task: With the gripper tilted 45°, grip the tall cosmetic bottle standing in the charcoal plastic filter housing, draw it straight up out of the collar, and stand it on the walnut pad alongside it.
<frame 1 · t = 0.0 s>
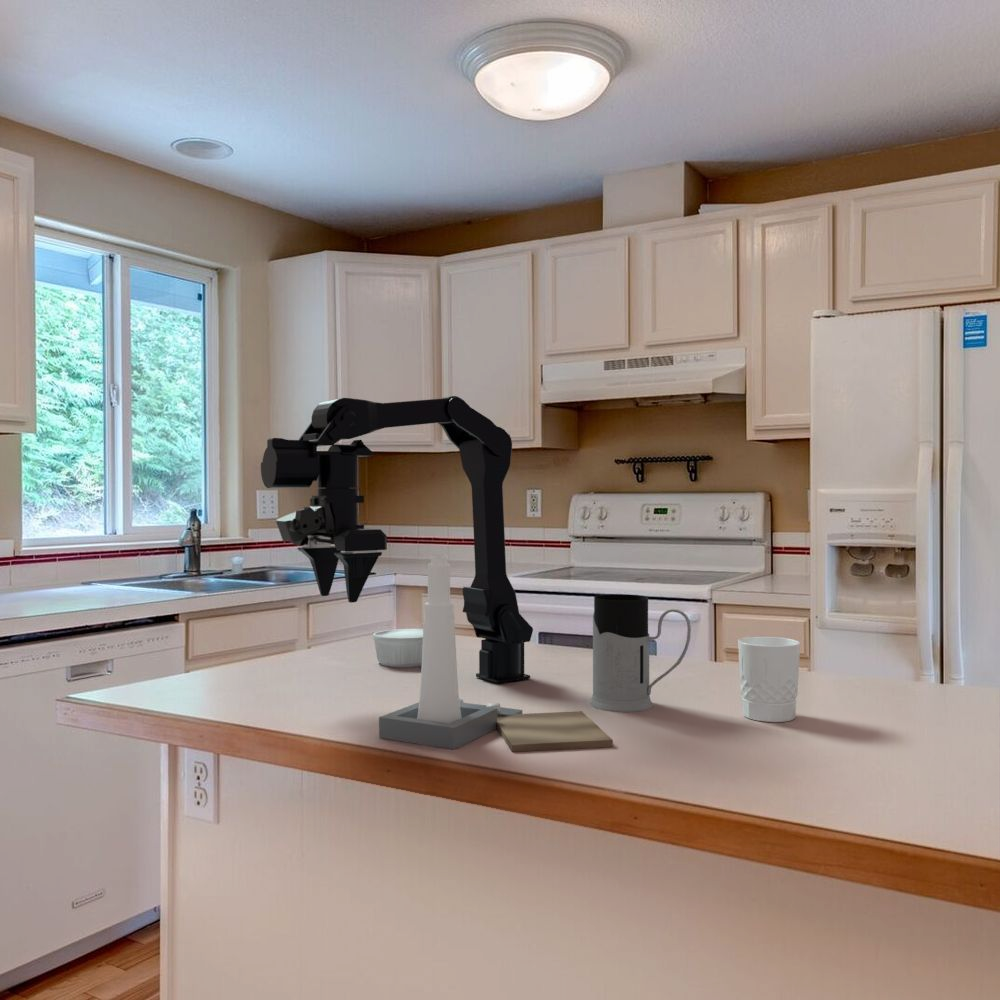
hand: (338, 598, 130), 15 cm above the countertop, tool pointing down, fingers open, 9 cm apart
ramekin: (405, 664, 160), on the countertop
glass holder: (639, 707, 128), on the countertop
white cup: (768, 717, 122), on the countertop
cosmetic bottle: (439, 734, 114), resting in filter housing
filter housing: (439, 732, 114), on the countertop
walnut pad: (549, 733, 114), on the countertop
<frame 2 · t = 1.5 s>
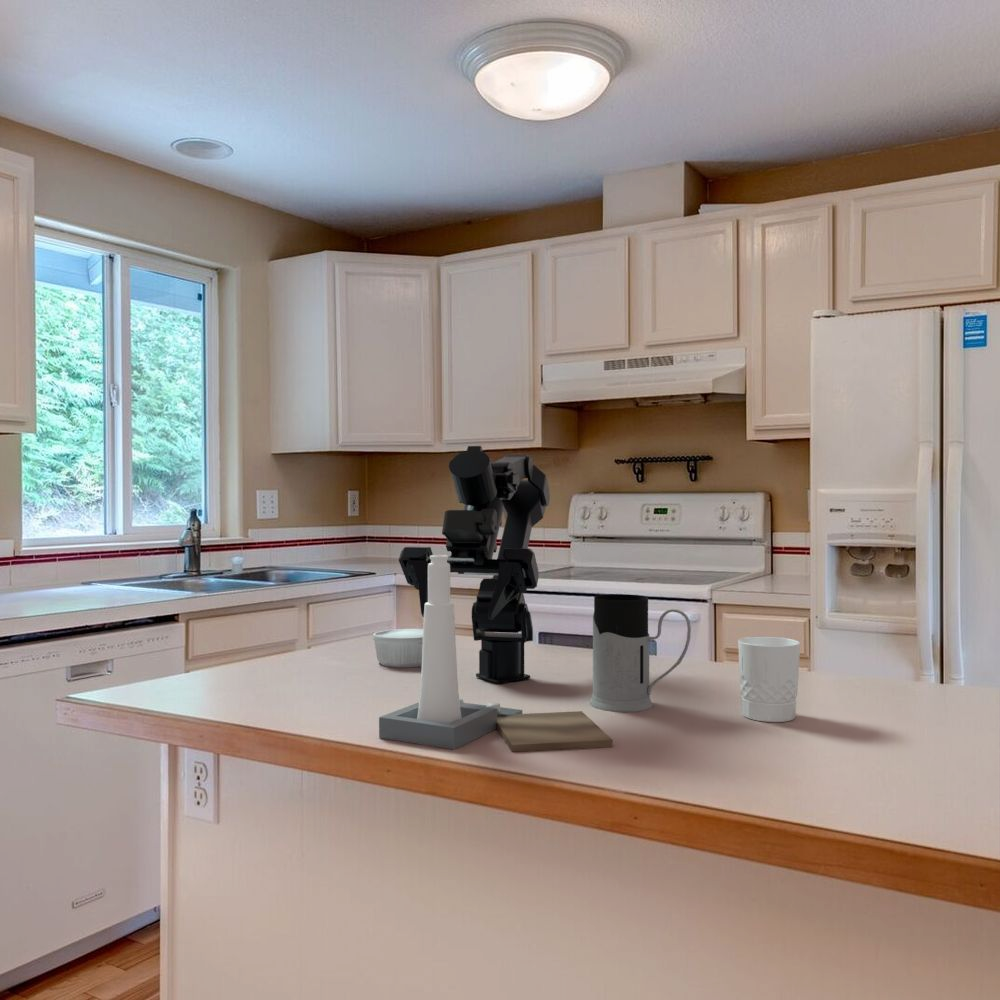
hand: (456, 616, 121), 13 cm above the countertop, tool tilted 45°, fingers open, 9 cm apart
nothing on the countertop moved.
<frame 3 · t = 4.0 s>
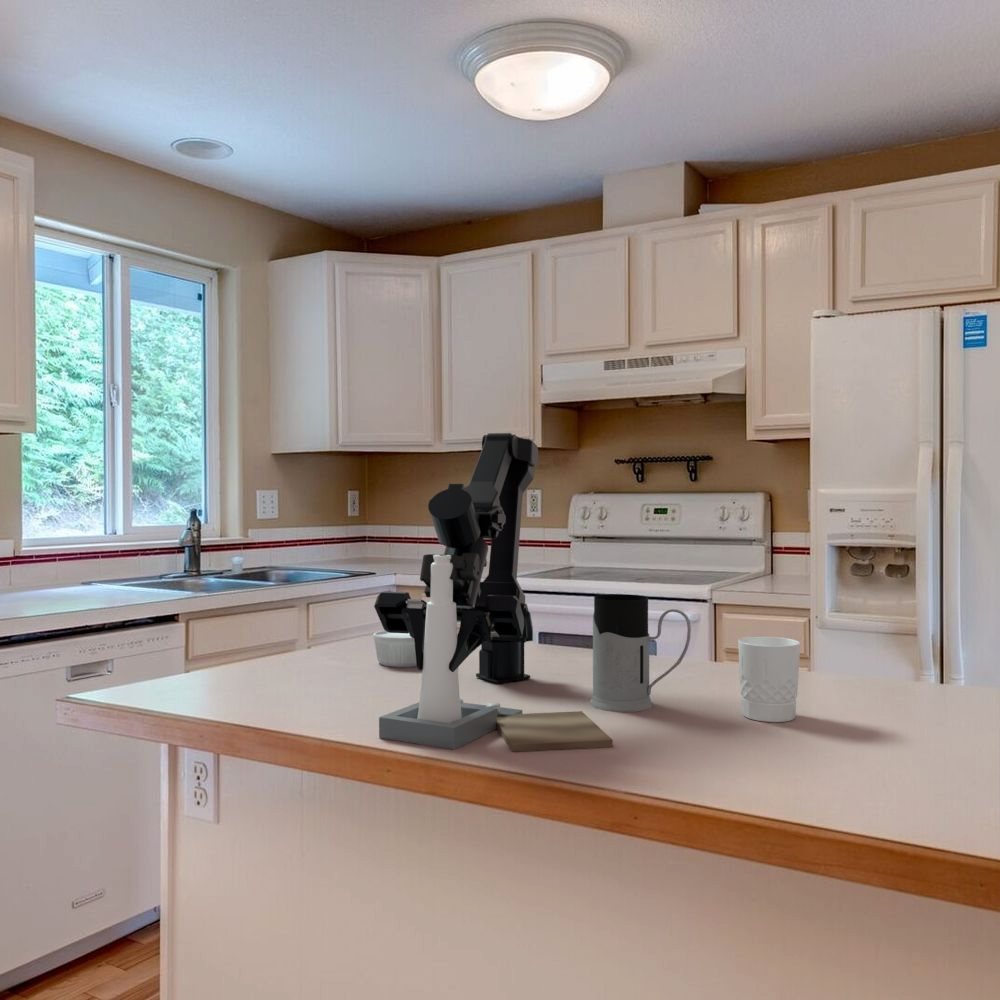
hand: (434, 669, 113), 8 cm above the countertop, tool tilted 45°, fingers closed on cosmetic bottle, 4 cm apart
cosmetic bottle: (439, 734, 114), resting in filter housing, touching gripper
everything else where it was.
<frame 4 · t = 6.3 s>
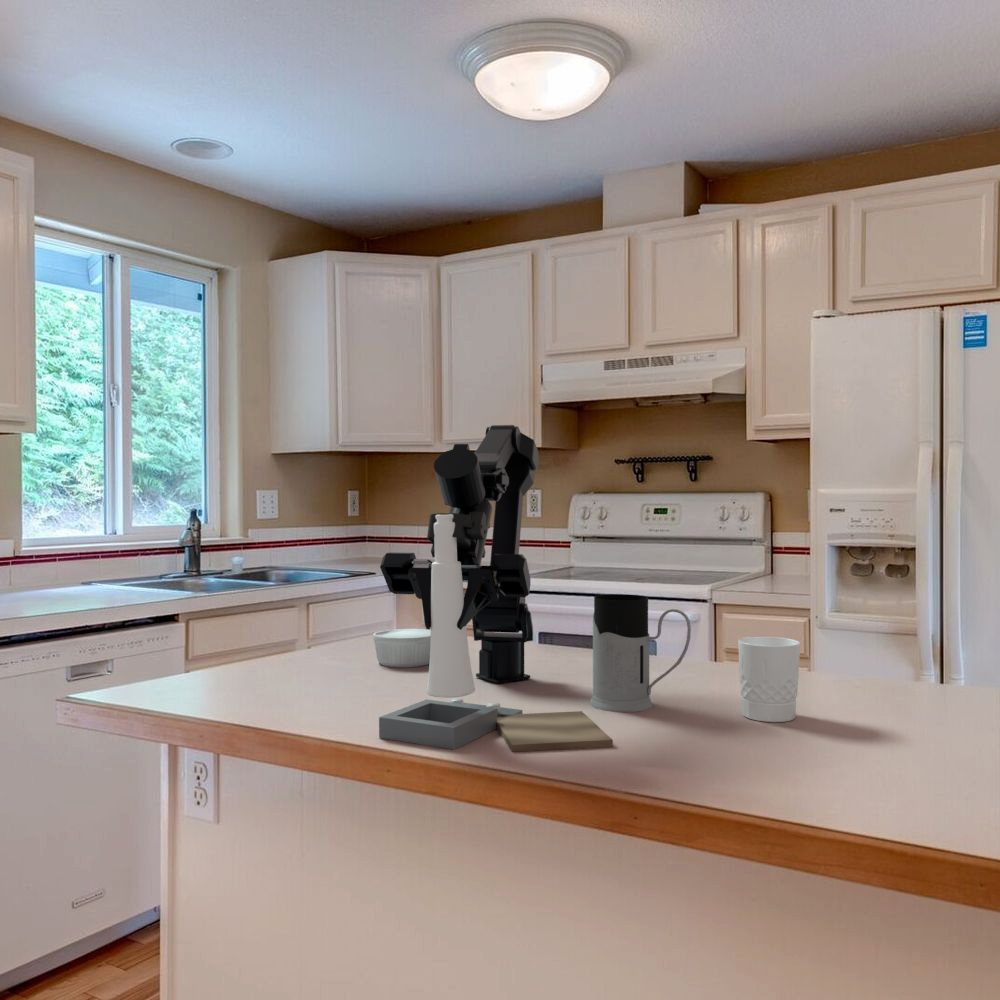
hand: (443, 627, 112), 13 cm above the countertop, tool tilted 45°, fingers closed on cosmetic bottle, 4 cm apart
cosmetic bottle: (450, 693, 114), point 5 cm above the countertop, touching gripper
everything else where it was.
when the fingers open (10 cm above the countertop, at t = 8.6 s): cosmetic bottle drops 1 cm, resting on walnut pad.
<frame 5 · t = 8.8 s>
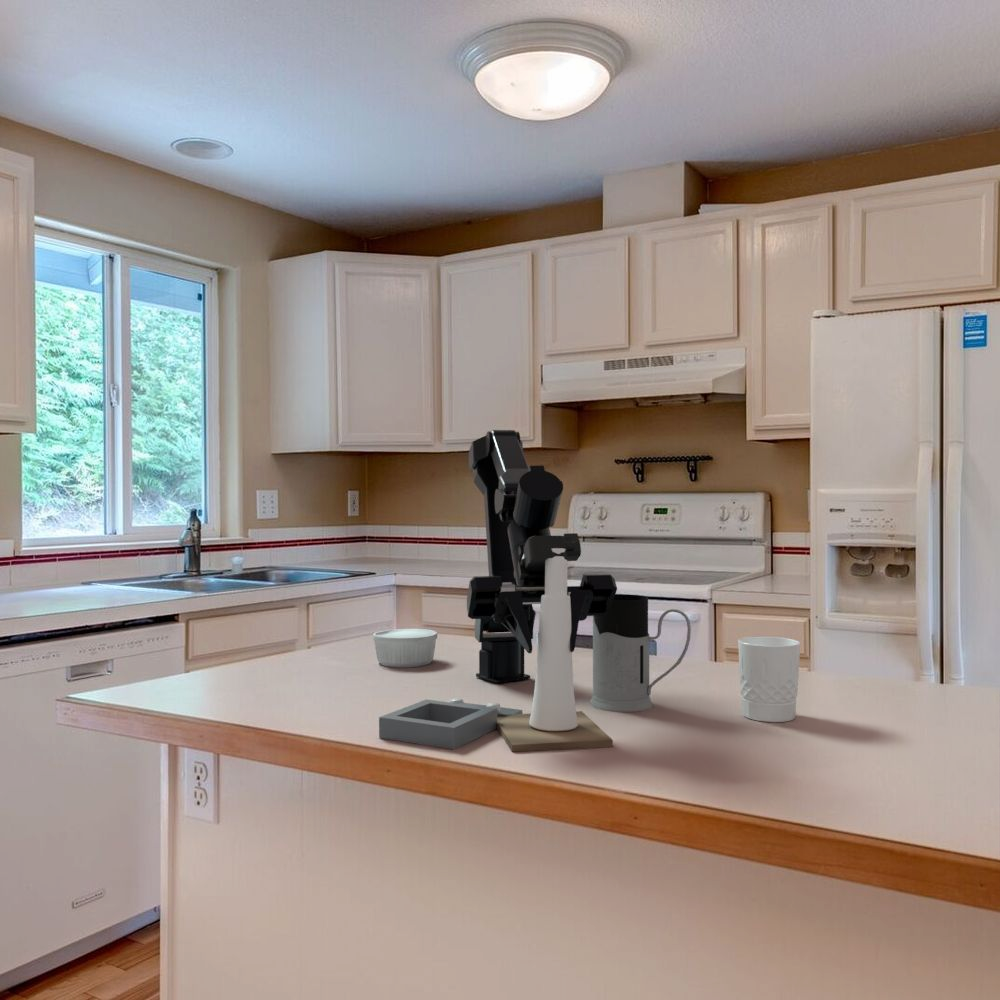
hand: (551, 650, 112), 10 cm above the countertop, tool tilted 45°, fingers open, 5 cm apart
cosmetic bottle: (553, 727, 114), point 1 cm above the countertop, touching gripper, walnut pad
everything else where it was.
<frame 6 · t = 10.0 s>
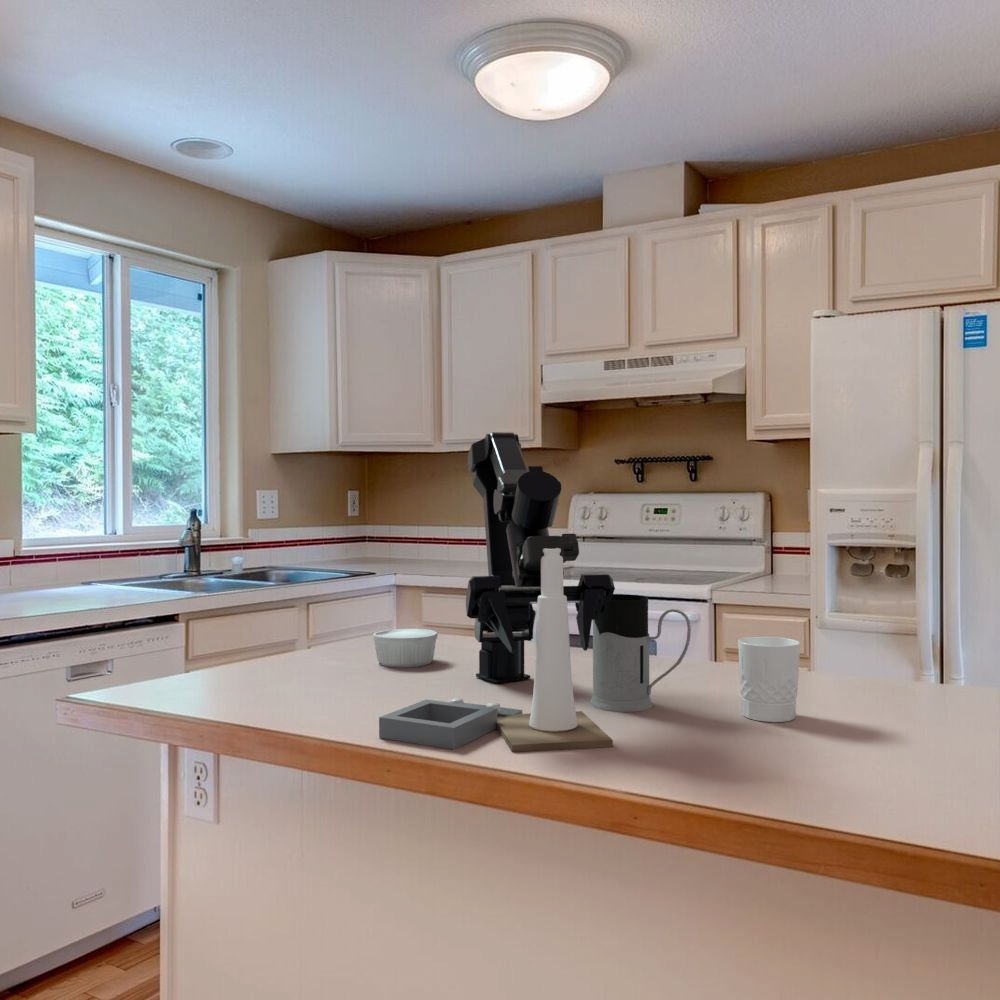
hand: (549, 649, 113), 10 cm above the countertop, tool tilted 45°, fingers open, 9 cm apart
cosmetic bottle: (553, 727, 114), point 1 cm above the countertop, touching walnut pad
everything else where it was.
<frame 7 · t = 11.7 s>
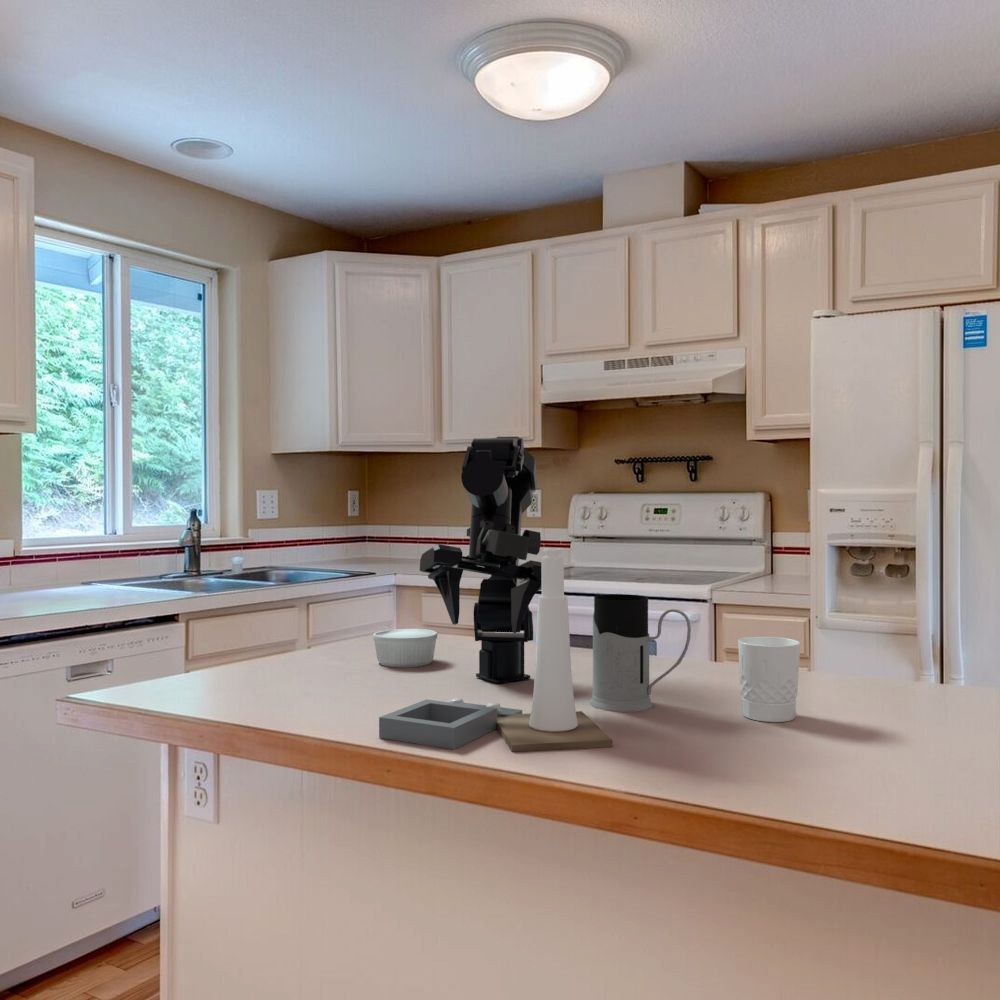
hand: (485, 628, 126), 11 cm above the countertop, tool tilted 20°, fingers open, 9 cm apart
nothing on the countertop moved.
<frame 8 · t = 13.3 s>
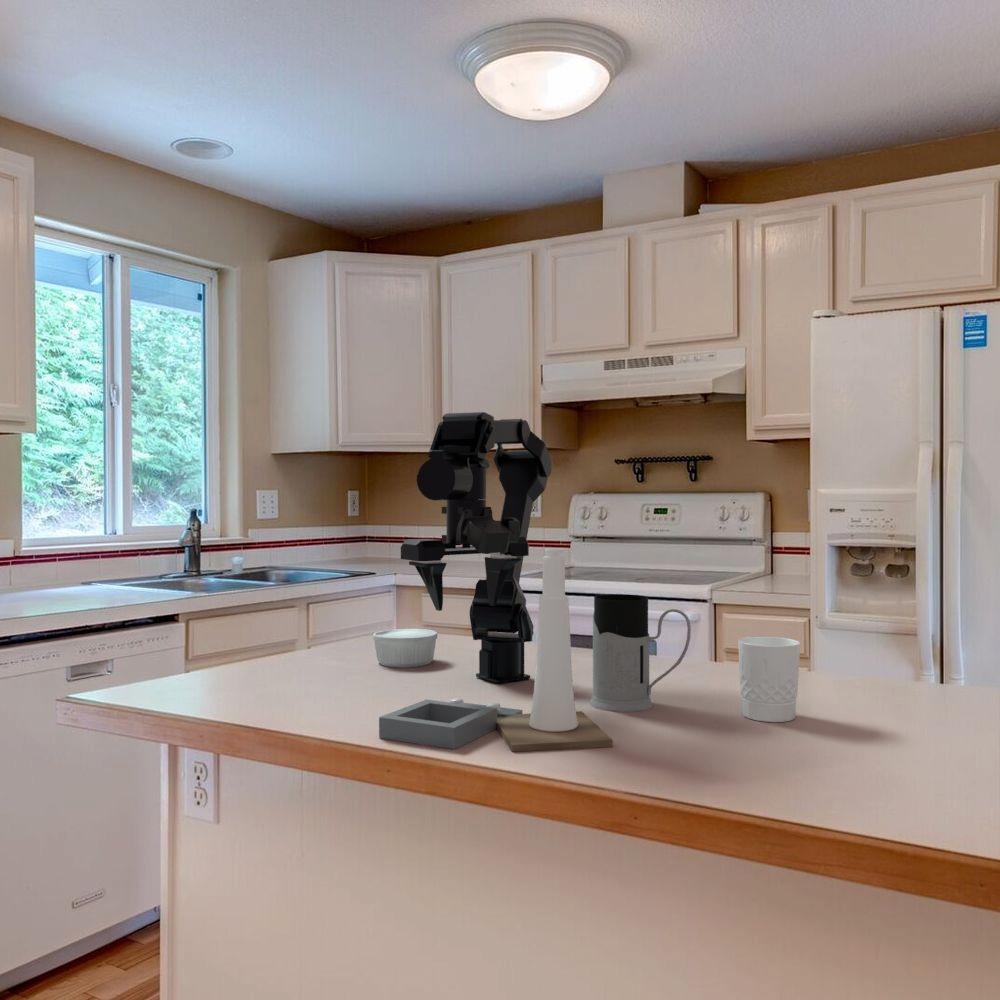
hand: (466, 608, 133), 13 cm above the countertop, tool pointing down, fingers open, 9 cm apart
nothing on the countertop moved.
at the end: cosmetic bottle inside the target area on the walnut pad (0.7 cm from its centre), point 0.6 cm above the walnut pad's base; cosmetic bottle tilted 0°; the gripper is holding nothing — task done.
